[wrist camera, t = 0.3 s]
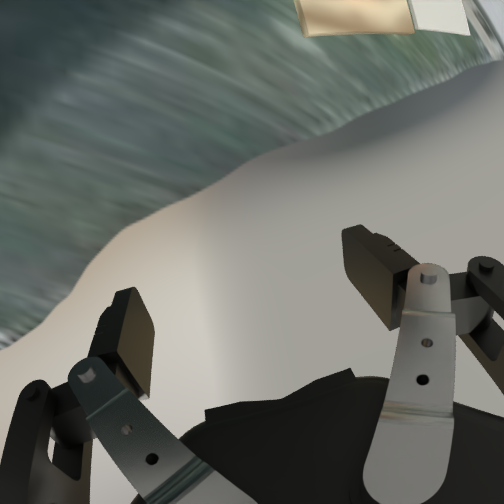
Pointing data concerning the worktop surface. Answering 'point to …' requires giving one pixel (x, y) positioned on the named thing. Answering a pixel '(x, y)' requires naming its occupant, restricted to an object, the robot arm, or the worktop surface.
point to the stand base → (353, 17)
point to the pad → (439, 16)
